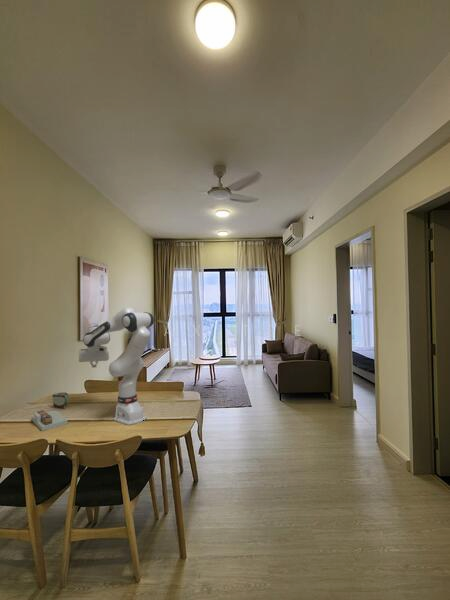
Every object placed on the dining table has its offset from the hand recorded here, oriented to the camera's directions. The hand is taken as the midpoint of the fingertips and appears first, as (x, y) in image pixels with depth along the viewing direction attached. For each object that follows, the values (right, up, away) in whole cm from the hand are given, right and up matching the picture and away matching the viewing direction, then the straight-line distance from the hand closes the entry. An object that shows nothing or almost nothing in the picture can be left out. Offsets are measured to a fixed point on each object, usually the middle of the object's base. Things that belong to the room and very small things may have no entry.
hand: (94, 367), depth 210 cm
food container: (-24, -30, +1) cm, 38 cm away
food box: (-17, -29, -26) cm, 42 cm away
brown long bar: (-18, -26, -29) cm, 43 cm away
